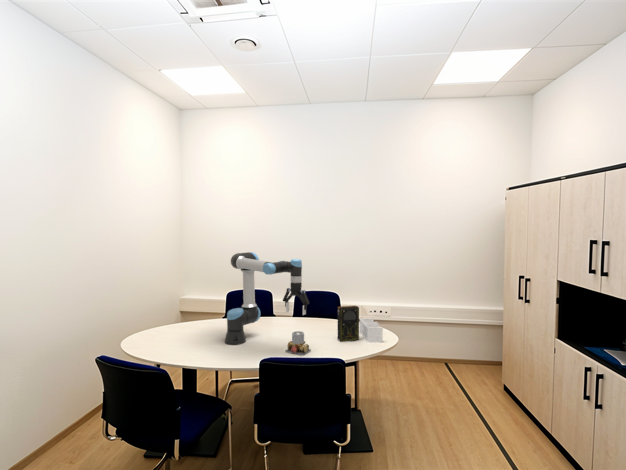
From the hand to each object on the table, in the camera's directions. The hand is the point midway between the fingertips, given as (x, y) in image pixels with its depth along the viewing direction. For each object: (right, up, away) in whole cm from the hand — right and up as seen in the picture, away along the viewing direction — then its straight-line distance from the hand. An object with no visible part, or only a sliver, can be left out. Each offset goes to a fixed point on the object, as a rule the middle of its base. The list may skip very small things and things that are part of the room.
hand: (295, 313), depth 236 cm
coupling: (+2, -19, -2) cm, 19 cm away
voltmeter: (+38, -25, +23) cm, 51 cm away
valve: (+2, -26, -1) cm, 26 cm away
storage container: (+56, -25, +30) cm, 68 cm away
